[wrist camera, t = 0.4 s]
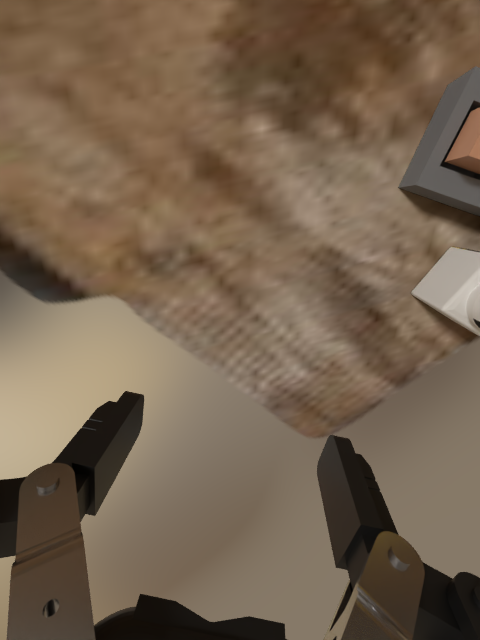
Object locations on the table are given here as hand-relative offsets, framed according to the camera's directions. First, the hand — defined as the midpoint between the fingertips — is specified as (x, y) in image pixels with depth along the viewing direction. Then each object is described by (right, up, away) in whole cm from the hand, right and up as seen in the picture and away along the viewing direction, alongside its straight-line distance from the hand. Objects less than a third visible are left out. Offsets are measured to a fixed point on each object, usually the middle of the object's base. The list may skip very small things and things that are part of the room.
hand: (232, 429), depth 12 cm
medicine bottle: (+27, +9, +24) cm, 38 cm away
